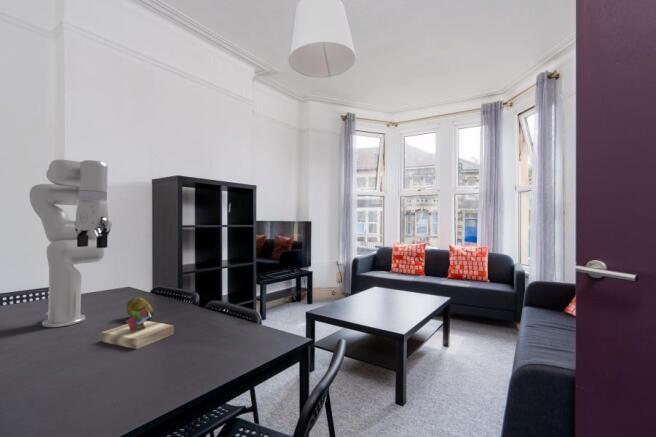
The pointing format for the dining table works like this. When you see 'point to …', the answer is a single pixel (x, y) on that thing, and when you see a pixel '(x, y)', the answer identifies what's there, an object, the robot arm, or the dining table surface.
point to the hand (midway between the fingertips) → (92, 247)
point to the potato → (139, 306)
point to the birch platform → (137, 334)
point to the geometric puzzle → (138, 319)
